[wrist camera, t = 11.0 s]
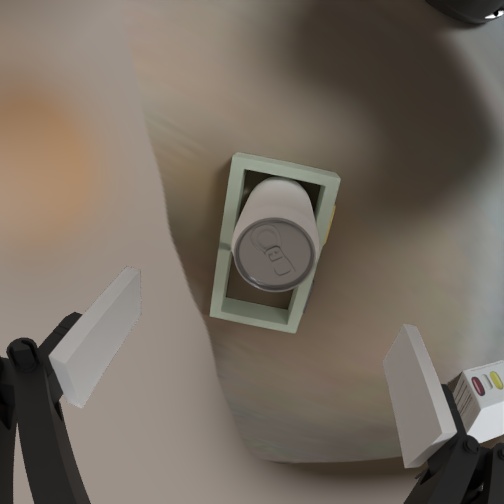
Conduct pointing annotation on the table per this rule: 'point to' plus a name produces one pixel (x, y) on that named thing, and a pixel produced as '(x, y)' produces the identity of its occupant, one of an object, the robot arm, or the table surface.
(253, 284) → the can
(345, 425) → the table surface
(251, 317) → the socket board
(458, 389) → the supplement box
